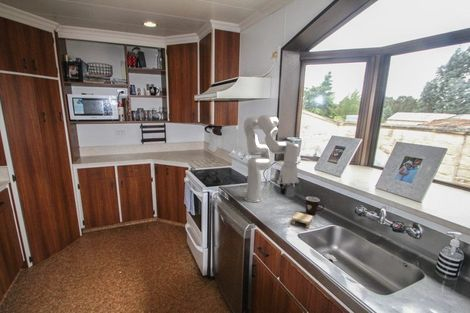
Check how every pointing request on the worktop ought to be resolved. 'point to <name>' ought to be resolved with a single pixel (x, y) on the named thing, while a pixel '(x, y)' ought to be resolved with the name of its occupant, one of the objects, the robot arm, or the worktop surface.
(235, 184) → the worktop surface
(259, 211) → the worktop surface
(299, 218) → the stand
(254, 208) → the worktop surface
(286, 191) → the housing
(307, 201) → the coffee mug
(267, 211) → the worktop surface
